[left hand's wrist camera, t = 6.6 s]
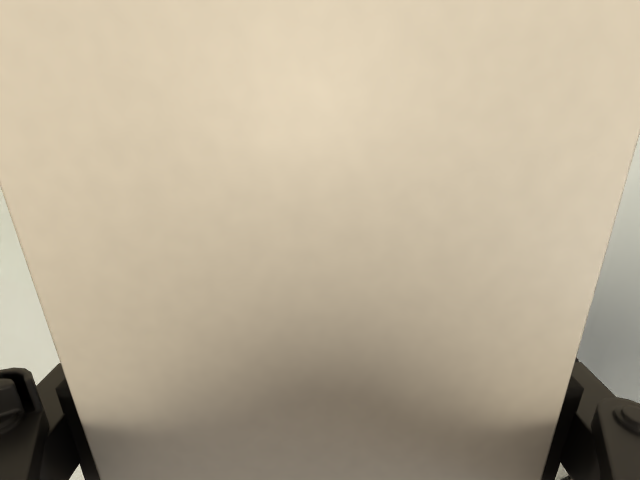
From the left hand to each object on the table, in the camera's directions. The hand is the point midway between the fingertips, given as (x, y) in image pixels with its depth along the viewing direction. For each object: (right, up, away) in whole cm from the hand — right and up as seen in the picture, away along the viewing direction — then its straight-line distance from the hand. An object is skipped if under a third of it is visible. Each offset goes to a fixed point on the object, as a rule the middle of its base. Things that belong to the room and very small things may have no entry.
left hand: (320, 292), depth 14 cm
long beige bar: (0, +25, -9) cm, 27 cm away
